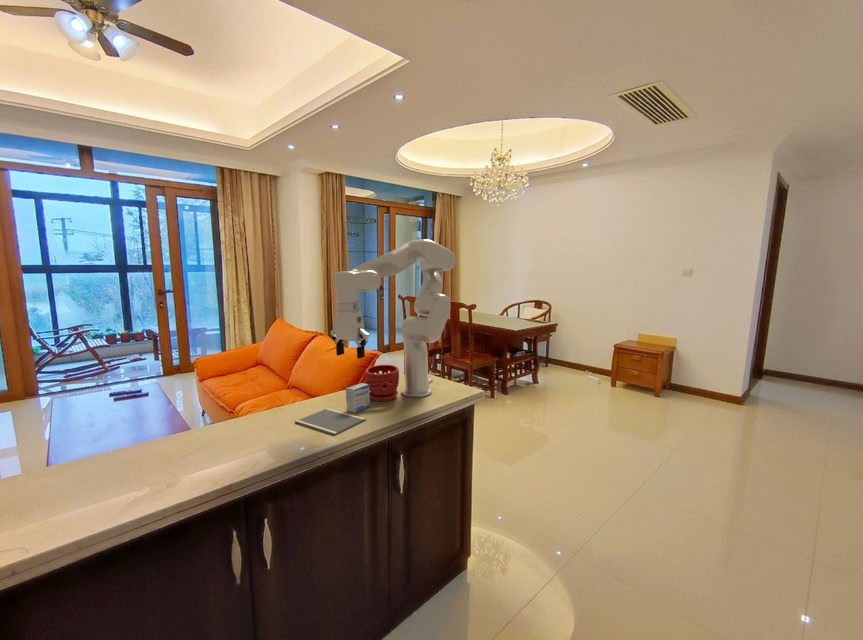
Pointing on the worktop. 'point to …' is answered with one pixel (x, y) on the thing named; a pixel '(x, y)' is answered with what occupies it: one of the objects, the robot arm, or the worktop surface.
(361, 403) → the medicine box
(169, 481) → the worktop surface
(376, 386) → the plant pot
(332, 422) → the mat
